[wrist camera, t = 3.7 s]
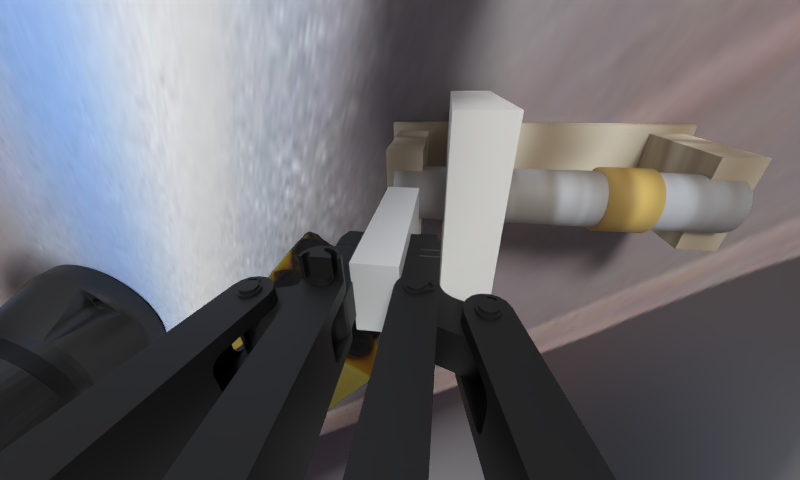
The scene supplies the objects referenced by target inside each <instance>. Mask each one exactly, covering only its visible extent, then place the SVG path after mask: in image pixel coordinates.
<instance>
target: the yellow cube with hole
mask: <svg viewBox="0 0 800 480" xmlns="http://www.w3.org/2000/svg"><path fill="white" fill-rule="evenodd" d="M316 246H332V245H330V244H329V243H327V242H326V241H324V240H323V239H322V238H321V237H320V236H319V235H318V234H315V233H312V232H308V233H306V234H305V235H304V236H303V238H301V240H299V241H298V242H297V243H296V244H295V246H294V247H293V248H292V249H291V250H290V251H289V253H288V254H287V255H286V256H285V257H284V258H283V260H282V261H281V262H280V263H279V265H278V266H277V267H276V268H275V269H274V270H273V271H272V273H271V275H270V276H269V277H268V278H269V279H271V280H272V282H273V284H274V287H275V288H281V287H289V286H295V285H298V284H299V282H300V281H301V280H302V274H301V269H300V265H299V260H298V255H299V254H300V253H301V252H302V251H304V250H307V249H309V248H312V247H316ZM332 247H334V246H332ZM379 334H380V332H377V331H367V330H358V329H357V327H356V319H355V321H354V323H353V326H352V336H353V337H352V344H351V346H350V349H349V352H348V355H347V358H346V361H345V363H344V366H343V369H342V372H341V375H340V378H339V380H338V383H337V386H336V389H335V392H334V395H333V397H332V400H331V403H330V406H329V409H328V411H329V410H330V409H331V408H332V407H333V406H335V405H336V404H337V403H339V402H340V401H341V400H342V399H344V398H345V397H347V396H348V395H350V394H351V393H353V392H354V391H356V390H357V389H358V388H360V387H361V386H362V385H364V384H365V383H367V382H368V381H369V378H370V374H371V371H372V367H373V363H374V359H375V355H376V352H377V348H378V344H377V340H378V337H379ZM242 344H243V343H242V340H241V338H240V337H239V338H238V339H237V340H236V341H235V342H234V343H233V344H232V346H233V349H237V348H238V347H240V346H241V345H242Z"/></svg>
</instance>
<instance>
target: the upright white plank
mask: <svg viewBox="0 0 800 480" xmlns="http://www.w3.org/2000/svg"><path fill="white" fill-rule="evenodd" d="M523 113H524V110H523V109H521V108H519V107H517V106H516V105H514V104H512V103H510V102H509V101H507V100H505V99H503V98H501V97H500V96H498V95H496V94H494V93H492V92H491V91H451V95H450V110H449V126H448V141H447V157H446V167H447V179H446V194H445V209H444V219H442V236H441V259H440V282H439V283H440V286H441V288H442V290H443V291H444V292H445V293H447V294H448V295H450V296H451V297H454V298H456V299H459V300H462V301H465V300H466V299H467V298H469V297H470V296H472V295H476V294H491V291H492V285H493V280H494V274H495V269H496V263H497V257H498V252H499V246H500V241H501V235H502V230H503V224H504V218H505V213H506V207H507V202H508V196H509V191H510V185H511V179H512V174H513V168H514V163H515V157H516V152H517V146H518V140H519V135H520V129H521V124H522V118H523Z"/></svg>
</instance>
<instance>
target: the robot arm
mask: <svg viewBox="0 0 800 480" xmlns="http://www.w3.org/2000/svg"><path fill="white" fill-rule="evenodd" d="M418 229H419V188H408V187H388V188H387V190H386V192H385V194H384V196H383V198H382V200H381V202H380V204H379V206H378V208H377V210H376V212H375V214H374V215H373V217H372V219H371V221H370V223H369V225H368V227H367V229H366V231H365V232H357V231H350V232H348V233H347V234H345V235H343V236H342V237H341V238H340V240H339V241H338V243H337V245H336V246H335V247H332V246H316V247H312V248H309V249H307V250H304V251H302V252H301V253H300V254H299V255H298V260H299V265H300V269H301V274H302V280H301V281H300V282H299V284H298V285H295V286H289V287H281V288H275V287H274V284H273V282H272V280H271V279H269V278H267V277H260V276H258V277H250V278H247V279H244V280H241V281H239V282H238V283H236V284H234V285H232V286H231V287H230V288H228V289H227V290H225V291H224V292H223V293H221V294H220V295H218V296H217V297H216V298H214V299H213V300H211V301H210V302H209V303H207V304H206V305H204V306H203V307H202V308H200V309H199V310H197V311H196V312H195V313H193V314H192V315H190V316H189V317H188V318H186V319H185V320H184V321H182V322H181V323H179V324H178V325H177V326H175V327H174V328H172V329H171V330H170V331H168V332H167V333H165V332H164V328H163V326H162V323H161V322H160V320H159V318H158V317H157V315H156V314H155V312H154V311H153V310H152V309H151V307H150V306H149V305H148V304H147V303H146V302H145V301H144V300H143V299H142V298H141V297H140V296H138V295H137V294H136V293H135V292H133V291H132V290H131V289H129V288H128V287H127V286H125V285H124V284H122V283H120V282H119V281H117V280H115V279H113V278H112V277H110V276H108V275H106V274H103V273H101V272H98V271H96V270H93V269H90V268H86V267H82V266H77V265H61V266H57V267H54V268H52V269H50V270H48V271H46V272H44V273H42V274H40V275H38V276H36V277H34V278H33V279H31V280H30V281H28V282H27V283H26V284H25V285H24V286H23V287H22V288H21V289H20V290H19V291H17V292H16V293H15V294H14V295H13V296H12V297H11V298H10V299H9V300H8V301H7V302H6V303H5V304H3V305H2V306H1V307H0V480H303V479H304V476H305V474H306V471H307V468H308V465H309V462H310V459H311V457H312V454H313V451H314V448H315V445H316V442H317V440H318V437H319V434H320V431H321V428H322V426H323V423H324V420H325V417H326V414H327V411H328V409H329V406H330V403H331V400H332V397H333V395H334V392H335V389H336V386H337V383H338V380H339V378H340V375H341V372H342V369H343V366H344V363H345V361H346V358H347V355H348V352H349V349H350V346H351V344H352V337H353V336H352V326H353V323H354V321H355V319H356V327H357V329H358V330H367V331H377V332H382V333H381V336H380V340H379V344H378V348H377V352H376V355H375V359H374V363H373V367H372V371H371V374H370V378H369V382H368V386H367V390H366V393H365V397H364V401H363V405H362V409H361V412H360V416H359V420H358V424H357V428H356V432H355V435H354V439H353V443H352V447H351V451H350V455H349V459H348V462H347V466H346V470H345V473H344V477H343V480H428V478H429V459H430V442H431V423H432V405H433V387H434V369H435V364H436V365H438V366H440V367H443V368H445V369H447V370H450V371H452V372H454V373H455V375H456V380H457V383H458V387H459V390H460V394H461V397H462V401H463V404H464V407H465V411H466V415H467V418H468V421H469V425H470V429H471V432H472V436H473V439H474V443H475V446H476V450H477V453H478V457H479V460H480V464H481V467H482V471H483V474H484V478H485V480H616V478H615V477H614V475H613V474H612V472H611V470H610V469H609V467H608V465H607V464H606V462H605V460H604V459H603V457H602V455H601V454H600V452H599V450H598V449H597V447H596V445H595V444H594V442H593V440H592V439H591V437H590V435H589V434H588V432H587V430H586V429H585V427H584V425H583V424H582V422H581V421H580V419H579V418H578V416H577V414H576V412H575V411H574V409H573V407H572V406H571V404H570V402H569V401H568V399H567V398H566V396H565V394H564V392H563V391H562V389H561V387H560V386H559V384H558V382H557V381H556V379H555V378H554V376H553V374H552V372H551V371H550V369H549V368H548V366H547V364H546V363H545V361H544V359H543V358H542V356H541V354H540V353H539V351H538V349H537V348H536V346H535V344H534V343H533V341H532V339H531V338H530V336H529V334H528V333H527V331H526V329H525V328H524V326H523V325H522V323H521V321H520V320H519V318H518V316H517V315H516V313H515V311H514V310H513V308H512V307H511V306H510V305H509V304H508V302H506V301H505V300H503V299H501V298H500V297H497V296H494V295H491V294H476V295H472V296H470V297H469V298H467V299H466V300H465V301H462V300H459V299H456V298H454V297H451V296H450V295H448V294H447V293H445V292H444V291H443V290H442V288H441V286H440V283H439V274H440V255H441V241H440V240H439V238H438V237H437V236H436V235H424V234H418ZM239 337H240V338H241V340H242V343H243V344H242V345H241V346H240V347H238V348H237V349H233V346H232V344H233V343H234V342H235V341H236V340H237V339H238V338H239Z"/></svg>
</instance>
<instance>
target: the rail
mask: <svg viewBox="0 0 800 480" xmlns="http://www.w3.org/2000/svg"><path fill="white" fill-rule="evenodd" d="M448 126H449V122H398V121H395V122H394V140H393V141H392V142H391V144H390V145H389V146H388V148H387V149H386V177H387V188H388V187H408V188H419V229H418V234H421V230H422V224H423V218H425V219H444V209H445V194H446V179H447V167H446V157H447V141H448ZM696 128H697V125H693V124H626V123H522V124H521V129H520V135H519V140H518V146H517V152H516V157H515V163H514V168H513V174H512V179H511V185H510V191H509V196H508V202H507V207H506V213H505V218H504V222H505V223H525V224H545V225H565V226H584V227H585V228H586V229H587V230H592V231H611V232H631V233H643V232H646V231H648V230H652V231H654V232H655V233H656V234H657V235H659V236H660V237H661V238H662V239H664V240H665V241H666V242H667V243H669V244H670V245H671V246H672V247H674V248H675V249H688V250H706V251H716V250H717V249H718V247H719V245H720V244H721V242H722V240H723V239H724V237H725V235H726V234H727V232H730V231H732V230H734V229H736V228H737V227H739V226H740V225H741V224H742V223H743V222H744V221H745V220H746V218H747V217H748V215H749V213H750V211H751V208H752V204H753V193H752V191H753V189H754V188H755V186H756V184H757V183H758V181H759V179H760V178H761V176H762V174H763V173H764V171H765V169H766V168H767V166H768V165H769V163H770V161H771V160H772V158H769V157H765V156H762V155H758V154H755V153H751V152H747V151H744V150H740V149H737V148H733V147H730V146H726V145H722V144H719V143H715V142H712V141H708V140H705V139H701V138H697V137H694V136H693V135H694V132H695V130H696Z"/></svg>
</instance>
